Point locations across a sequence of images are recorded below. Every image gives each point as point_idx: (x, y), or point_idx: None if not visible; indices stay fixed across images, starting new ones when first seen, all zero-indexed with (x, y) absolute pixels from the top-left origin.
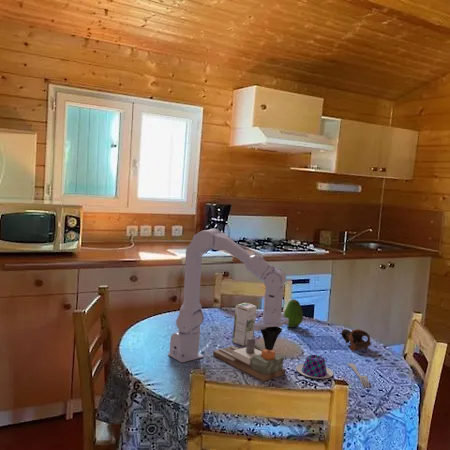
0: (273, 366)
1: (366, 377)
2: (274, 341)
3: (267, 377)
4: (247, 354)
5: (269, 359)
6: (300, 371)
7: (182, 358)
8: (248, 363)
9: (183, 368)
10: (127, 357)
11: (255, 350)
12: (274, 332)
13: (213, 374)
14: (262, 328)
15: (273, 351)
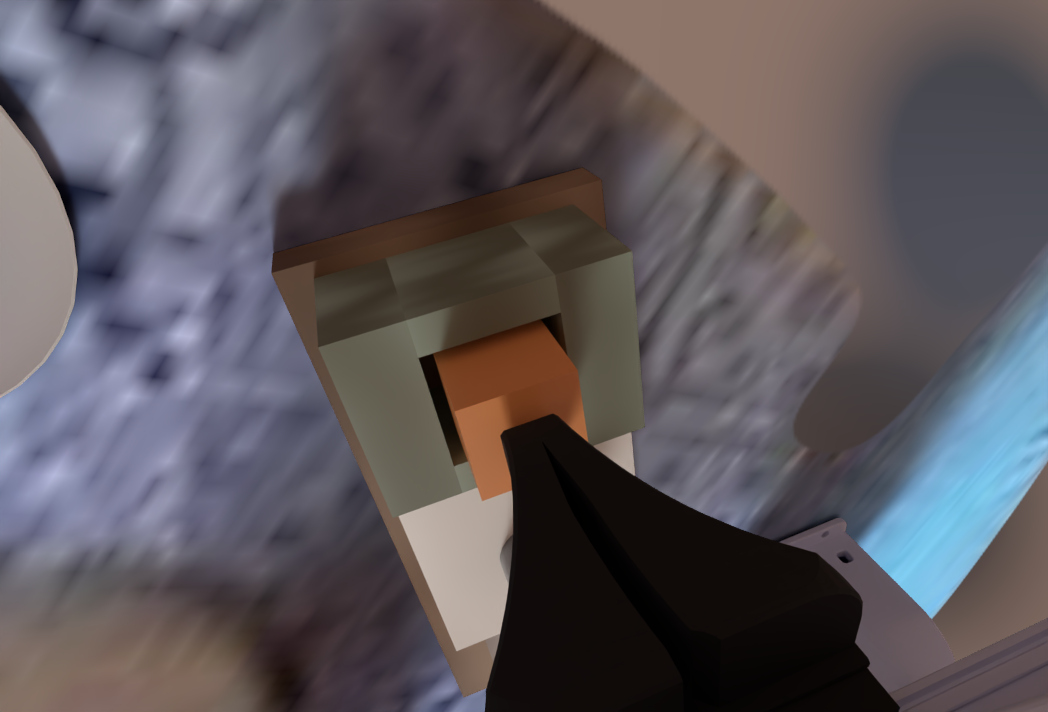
0: (480, 261)
1: None
2: (546, 505)
3: (544, 187)
4: None
5: (526, 335)
6: (25, 271)
7: (837, 543)
8: None
9: (876, 458)
10: (959, 569)
11: (465, 579)
12: (757, 595)
13: (810, 366)
14: (982, 675)
15: (473, 421)
